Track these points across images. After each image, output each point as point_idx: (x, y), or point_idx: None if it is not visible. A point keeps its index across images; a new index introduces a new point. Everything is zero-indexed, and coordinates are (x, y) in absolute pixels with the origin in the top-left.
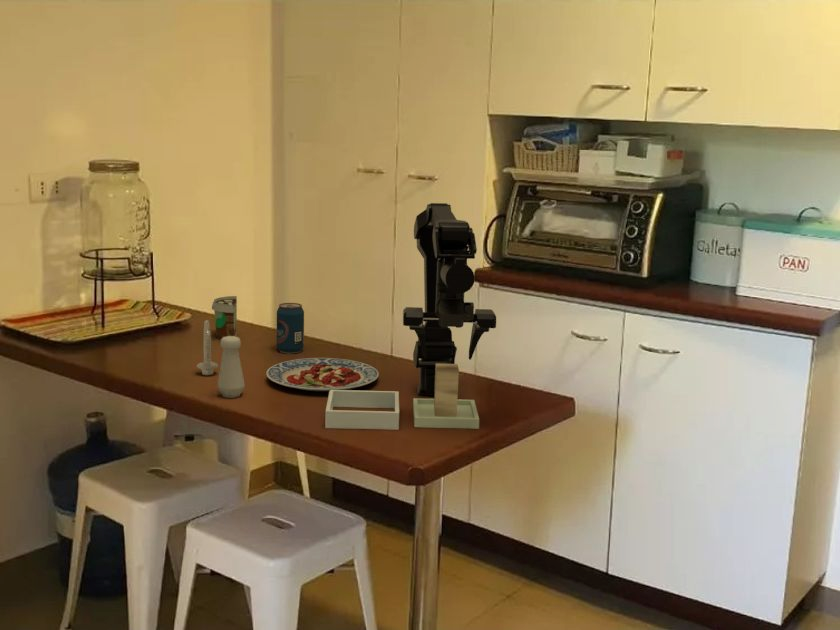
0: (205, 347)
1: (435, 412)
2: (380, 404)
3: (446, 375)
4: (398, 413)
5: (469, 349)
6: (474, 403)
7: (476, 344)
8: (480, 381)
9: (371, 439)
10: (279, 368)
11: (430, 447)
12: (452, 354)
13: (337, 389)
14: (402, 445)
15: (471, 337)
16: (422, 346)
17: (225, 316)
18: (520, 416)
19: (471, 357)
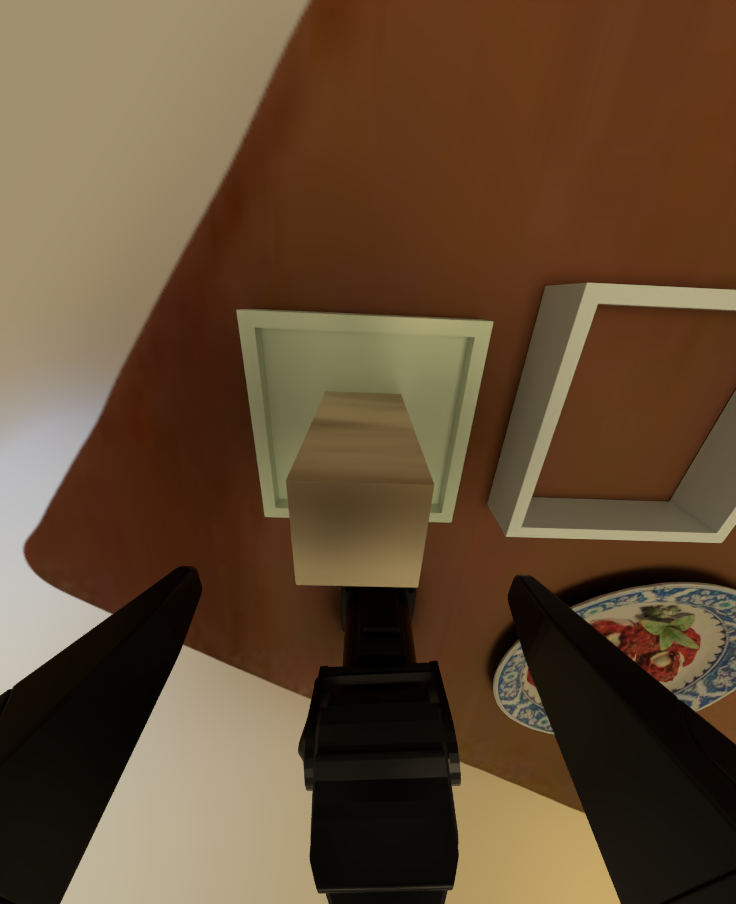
0: None
1: (400, 398)
2: (544, 503)
3: (367, 462)
4: (588, 283)
5: (160, 659)
6: (262, 485)
7: (2, 698)
8: (261, 662)
9: (696, 145)
10: (706, 691)
11: (470, 3)
12: (317, 714)
13: (637, 586)
14: (594, 40)
15: (56, 831)
16: (624, 665)
17: None
18: (125, 442)
19: (167, 576)
